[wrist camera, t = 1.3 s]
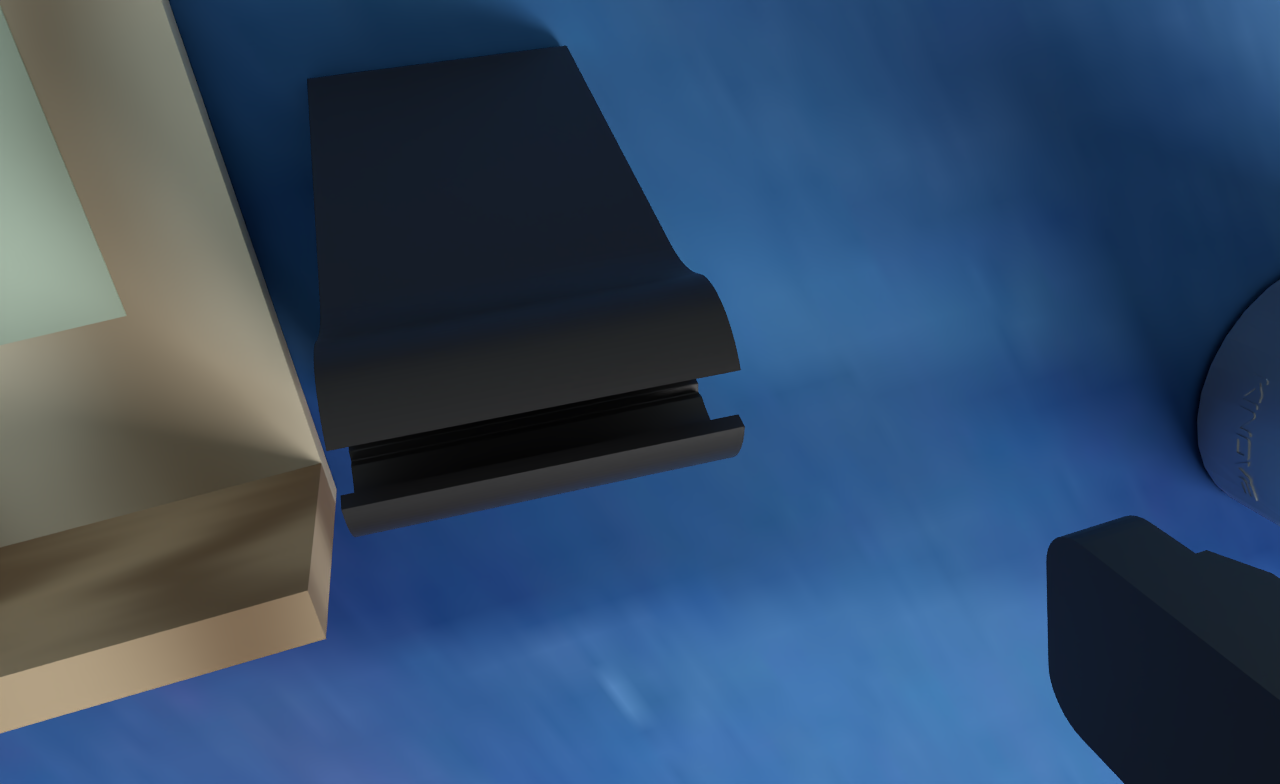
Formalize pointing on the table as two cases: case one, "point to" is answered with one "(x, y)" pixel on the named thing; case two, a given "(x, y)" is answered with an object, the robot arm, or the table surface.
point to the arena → (138, 381)
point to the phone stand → (497, 294)
